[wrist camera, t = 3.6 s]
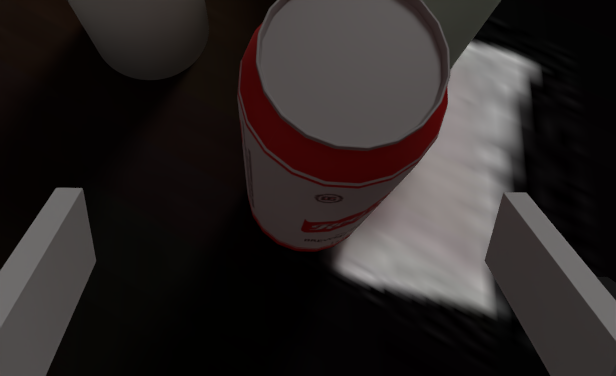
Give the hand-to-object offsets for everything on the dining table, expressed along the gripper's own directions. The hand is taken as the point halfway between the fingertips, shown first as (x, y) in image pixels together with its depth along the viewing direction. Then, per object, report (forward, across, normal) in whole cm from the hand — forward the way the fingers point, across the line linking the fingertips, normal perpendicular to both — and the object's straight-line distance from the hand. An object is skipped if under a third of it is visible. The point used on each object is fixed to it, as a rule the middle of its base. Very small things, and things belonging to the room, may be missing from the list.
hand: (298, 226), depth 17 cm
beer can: (+11, +1, -6) cm, 12 cm away
